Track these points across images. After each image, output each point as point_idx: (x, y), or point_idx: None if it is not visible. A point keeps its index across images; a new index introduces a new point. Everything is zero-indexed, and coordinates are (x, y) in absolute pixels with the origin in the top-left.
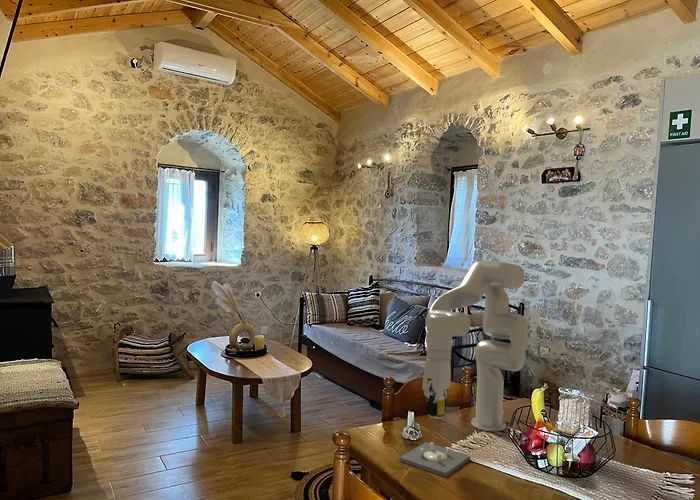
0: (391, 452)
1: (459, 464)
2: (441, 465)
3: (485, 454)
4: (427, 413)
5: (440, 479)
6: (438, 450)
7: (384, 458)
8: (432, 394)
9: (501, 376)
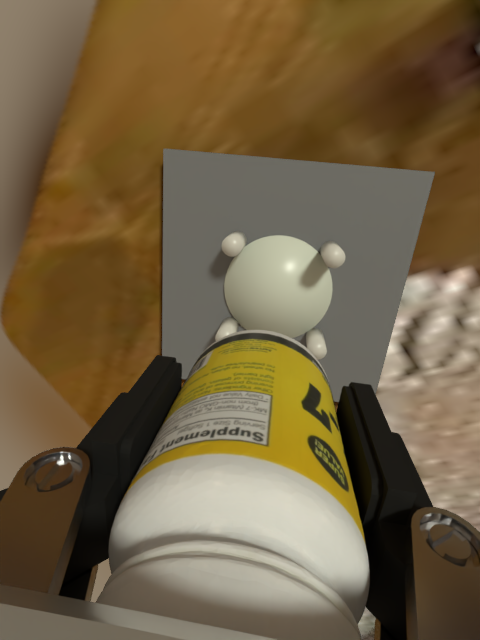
0: (234, 51)
1: None
2: (209, 342)
3: (455, 432)
4: (157, 357)
5: (139, 358)
6: (353, 276)
7: (147, 64)
8: (104, 593)
9: None
